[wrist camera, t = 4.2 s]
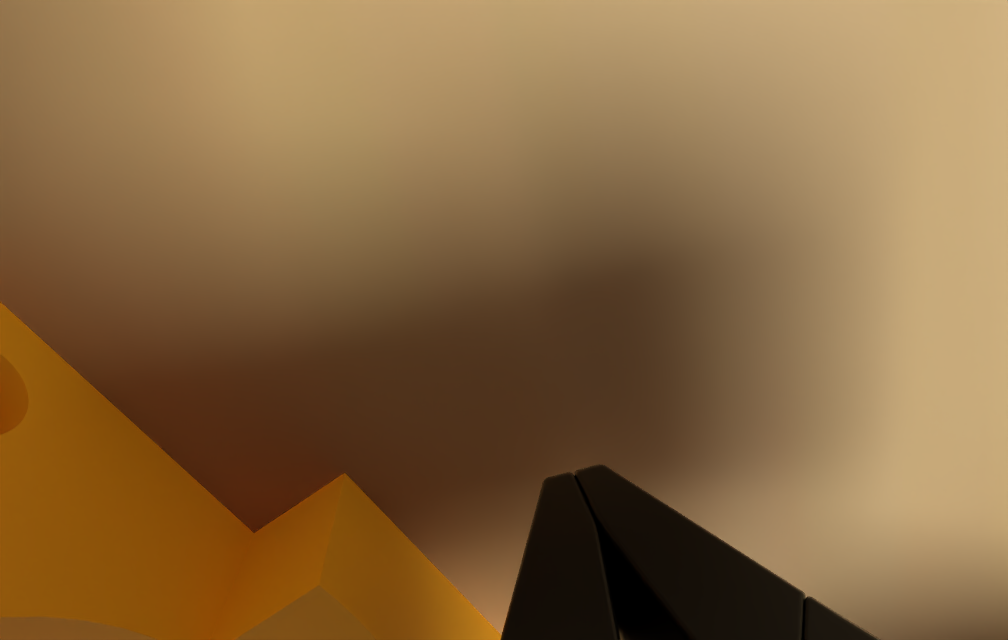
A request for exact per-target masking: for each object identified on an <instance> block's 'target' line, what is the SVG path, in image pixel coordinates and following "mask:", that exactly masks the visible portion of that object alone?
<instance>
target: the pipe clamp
mask: <svg viewBox="0 0 1008 640" xmlns="http://www.w3.org/2000/svg"><path fill="white" fill-rule="evenodd" d="M501 636H502V635H501V634H500V633H499V632H498V631H497V630H496V629H495V628H494V627H493V626H492V625H491V624H490V623H489V622H488V621H487V620H486V619H485V618H484V617H483V616H482V615H481V614H480V613H479V612H478V611H477V609H476V608H475V607H474V606H473V605H472V604H471V603H470V602H469V601H468V600H467V599H466V598H465V597H464V596H463V595H462V594H461V593H460V592H459V591H458V590H457V589H456V588H455V587H454V586H453V585H452V583H451V582H450V581H449V580H448V579H447V578H446V577H445V576H444V575H443V574H442V573H441V572H440V571H439V570H438V569H437V568H436V567H435V566H434V565H433V564H432V563H431V562H430V561H429V560H428V559H427V558H426V556H425V555H424V554H423V553H422V552H421V551H420V550H419V549H418V548H417V547H416V546H415V545H414V544H413V543H412V542H411V541H410V540H409V539H408V538H407V537H406V536H405V535H404V534H403V533H402V532H401V530H400V529H399V528H398V527H397V526H396V525H395V524H394V523H393V522H392V521H391V520H390V519H389V518H388V517H387V516H386V515H385V514H384V513H383V512H382V511H381V510H380V509H379V508H378V507H377V506H376V505H375V503H374V502H373V501H372V500H371V499H370V498H369V497H368V496H367V495H366V494H365V493H364V492H363V491H362V490H361V489H360V488H359V487H358V486H357V485H356V484H355V483H354V482H353V481H352V480H351V479H350V477H349V476H348V475H347V474H346V473H344V474H342V475H341V476H339V477H338V478H336V479H335V480H333V481H332V482H330V483H329V484H327V485H326V486H324V487H323V488H321V489H320V490H318V491H317V492H315V493H314V494H312V495H311V496H309V497H308V498H306V499H305V500H303V501H302V502H300V503H299V504H297V505H296V506H294V507H293V508H291V509H290V510H288V511H287V512H285V513H284V514H282V515H281V516H279V517H278V518H276V519H275V520H273V521H272V522H270V523H269V524H267V525H266V526H264V527H263V528H261V529H260V530H258V531H257V532H255V533H253V532H252V531H251V530H250V529H249V528H248V527H247V526H246V525H245V524H243V523H242V522H241V521H240V520H239V519H238V518H237V517H236V516H235V515H234V514H232V513H231V512H230V511H229V510H228V509H227V508H226V507H225V506H224V505H223V504H221V503H220V502H219V501H218V500H217V499H216V498H215V497H214V496H213V495H212V494H211V493H209V492H208V491H207V490H206V489H205V488H204V487H203V486H202V485H201V484H200V483H198V482H197V481H196V480H195V479H194V478H193V477H192V476H191V475H190V474H189V473H187V472H186V471H185V470H184V469H183V468H182V467H181V466H180V465H179V464H178V463H177V462H175V461H174V460H173V459H172V458H171V457H170V456H169V455H168V454H167V453H166V452H164V451H163V450H162V449H161V448H160V447H159V446H158V445H157V444H156V443H155V442H154V441H152V440H151V439H150V438H149V437H148V436H147V435H146V434H145V433H144V432H143V431H141V430H140V429H139V428H138V427H137V426H136V425H135V424H134V423H133V422H132V421H130V420H129V419H128V418H127V417H126V416H125V415H124V414H123V413H122V412H121V411H120V410H118V409H117V408H116V407H115V406H114V405H113V404H112V403H111V402H110V401H109V400H107V399H106V398H105V397H104V396H103V395H102V394H101V393H100V392H99V391H98V390H96V389H95V388H94V387H93V386H92V385H91V384H90V383H89V382H88V381H87V380H86V379H84V378H83V377H82V376H81V375H80V374H79V373H78V372H77V371H76V370H75V369H73V368H72V367H71V366H70V365H69V364H68V363H67V362H66V361H65V360H64V359H62V358H61V357H60V356H59V355H58V354H57V353H56V352H55V351H54V350H53V349H52V348H50V347H49V346H48V345H47V344H46V343H45V342H44V341H43V340H42V339H41V338H39V337H38V336H37V335H36V334H35V333H34V332H33V331H32V330H31V329H30V328H28V327H27V326H26V325H25V324H24V323H23V322H22V321H21V320H20V319H19V318H18V317H16V316H15V315H14V314H13V313H12V312H11V311H10V310H9V309H8V308H7V307H5V306H4V305H3V304H2V303H1V302H0V640H501Z"/></svg>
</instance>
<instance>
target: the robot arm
mask: <svg viewBox="0 0 1008 640" xmlns="http://www.w3.org/2000/svg"><path fill="white" fill-rule="evenodd" d="M501 640H880V639H879V638H877V637H875V636H874V635H872V634H870V633H869V632H867V631H865V630H864V629H862V628H860V627H859V626H857V625H855V624H854V623H852V622H850V621H849V620H847V619H846V618H844V617H842V616H841V615H839V614H837V613H836V612H834V611H833V610H831V609H830V608H828V607H826V606H825V605H823V604H822V603H820V602H819V601H817V600H815V599H814V598H812V597H807V598H805V594H804V592H802V591H801V590H799V589H798V588H796V587H795V586H793V585H791V584H790V583H788V582H787V581H785V580H784V579H782V578H780V577H779V576H777V575H776V574H774V573H773V572H771V571H770V570H768V569H766V568H765V567H763V566H762V565H760V564H759V563H757V562H755V561H754V560H752V559H751V558H749V557H748V556H746V555H744V554H743V553H741V552H740V551H738V550H737V549H735V548H733V547H732V546H730V545H729V544H727V543H726V542H724V541H723V540H721V539H719V538H718V537H716V536H715V535H713V534H712V533H710V532H708V531H707V530H705V529H704V528H702V527H701V526H699V525H697V524H696V523H694V522H693V521H691V520H690V519H688V518H686V517H685V516H683V515H682V514H680V513H679V512H677V511H675V510H674V509H672V508H671V507H669V506H668V505H666V504H665V503H663V502H661V501H660V500H658V499H657V498H655V497H654V496H652V495H650V494H649V493H647V492H646V491H644V490H643V489H641V488H639V487H638V486H636V485H635V484H633V483H632V482H630V481H628V480H627V479H625V478H624V477H622V476H621V475H619V474H617V473H616V472H614V471H613V470H611V469H610V468H608V467H607V466H605V465H596V466H592V467H588V468H584V469H580V470H577V471H576V472H575V476H574V475H573V474H572V473H570V472H569V473H564V474H560V475H556V476H552V477H548V478H546V479H545V480H544V481H543V484H542V488H541V491H540V495H539V499H538V503H537V506H536V510H535V514H534V517H533V521H532V525H531V529H530V532H529V536H528V540H527V543H526V547H525V551H524V555H523V558H522V562H521V566H520V569H519V573H518V577H517V580H516V584H515V588H514V592H513V595H512V599H511V603H510V606H509V610H508V614H507V618H506V621H505V625H504V629H503V632H502V636H501Z"/></svg>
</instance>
